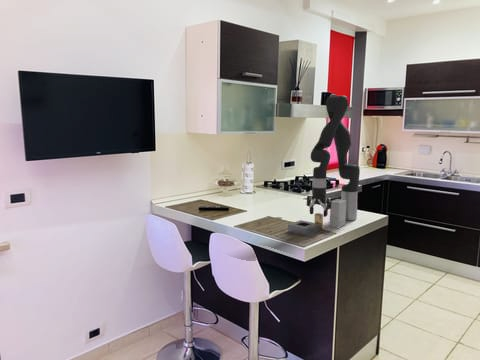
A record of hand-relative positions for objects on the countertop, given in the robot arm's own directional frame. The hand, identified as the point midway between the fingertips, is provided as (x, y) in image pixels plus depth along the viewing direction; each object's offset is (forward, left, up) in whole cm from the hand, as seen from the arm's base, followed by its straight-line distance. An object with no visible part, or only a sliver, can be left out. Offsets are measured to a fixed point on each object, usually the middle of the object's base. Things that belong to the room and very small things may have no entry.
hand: (318, 215), depth 212 cm
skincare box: (-12, +5, -8) cm, 16 cm away
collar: (+10, -3, -8) cm, 13 cm away
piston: (0, 0, -8) cm, 8 cm away
